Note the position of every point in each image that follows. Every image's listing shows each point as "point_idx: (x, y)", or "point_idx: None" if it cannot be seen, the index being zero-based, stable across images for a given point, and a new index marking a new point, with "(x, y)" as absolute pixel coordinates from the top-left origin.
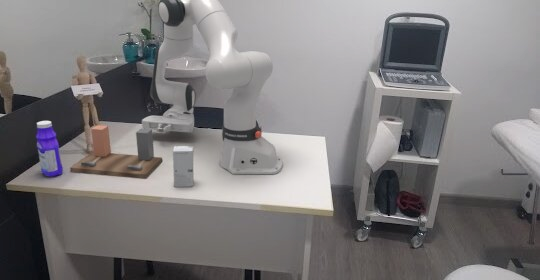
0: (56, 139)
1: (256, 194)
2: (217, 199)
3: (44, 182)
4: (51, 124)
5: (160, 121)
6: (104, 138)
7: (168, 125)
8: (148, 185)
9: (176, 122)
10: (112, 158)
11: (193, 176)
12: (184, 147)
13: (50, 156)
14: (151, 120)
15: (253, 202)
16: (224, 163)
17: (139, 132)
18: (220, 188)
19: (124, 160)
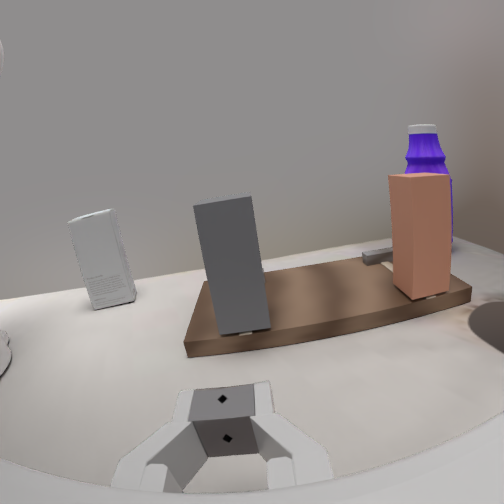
0: (415, 169)
1: (13, 306)
2: (70, 290)
3: None
4: (414, 130)
5: (324, 494)
6: (394, 215)
7: (151, 466)
8: (192, 283)
9: (26, 482)
10: (366, 290)
11: (90, 297)
12: (87, 215)
13: None
14: (499, 432)
15: (28, 296)
16: (2, 340)
17: (235, 194)
18: (53, 306)
19: (315, 296)
